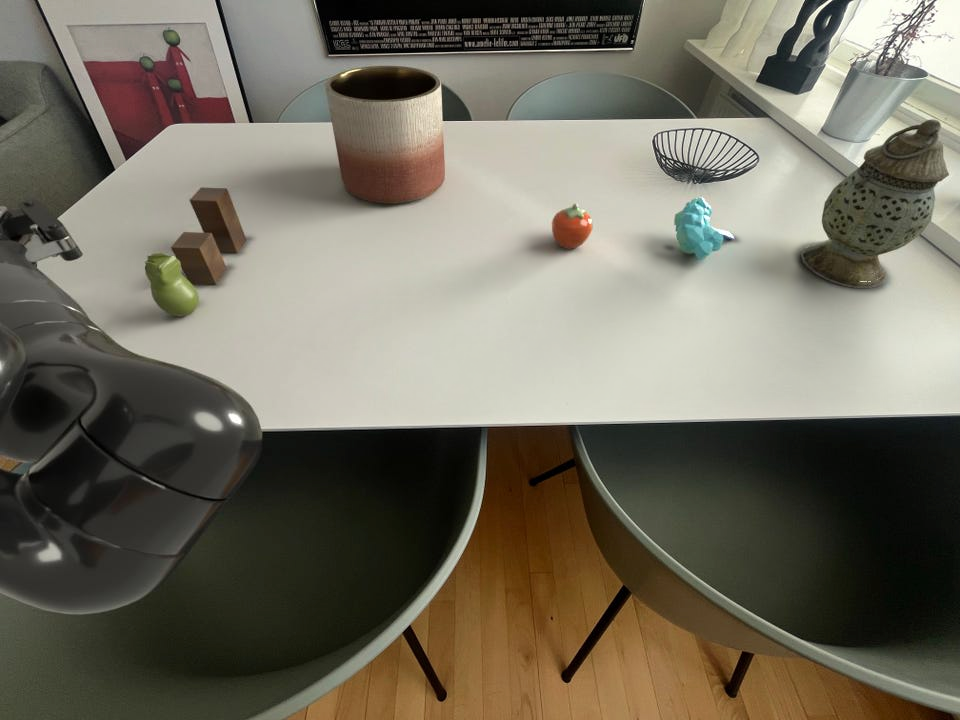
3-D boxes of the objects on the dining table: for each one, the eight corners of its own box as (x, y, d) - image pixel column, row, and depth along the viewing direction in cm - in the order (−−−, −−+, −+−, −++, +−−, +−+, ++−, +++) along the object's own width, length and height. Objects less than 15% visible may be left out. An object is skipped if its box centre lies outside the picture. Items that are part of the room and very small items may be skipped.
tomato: (594, 240, 91) (603, 201, 85) (578, 259, 86) (586, 219, 81) (559, 228, 93) (565, 189, 88) (542, 246, 89) (547, 206, 83)
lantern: (888, 298, 80) (1010, 147, 62) (796, 275, 84) (885, 127, 66) (880, 256, 89) (984, 113, 71) (796, 237, 93) (875, 97, 75)
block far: (237, 253, 85) (216, 201, 78) (212, 252, 85) (189, 200, 78) (246, 239, 89) (227, 188, 81) (222, 238, 89) (200, 187, 81)
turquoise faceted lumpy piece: (680, 237, 99) (648, 221, 89) (720, 209, 94) (692, 188, 83) (706, 281, 96) (676, 270, 85) (749, 254, 90) (723, 238, 79)
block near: (216, 284, 79) (199, 248, 74) (189, 283, 79) (170, 247, 74) (227, 268, 82) (211, 232, 77) (200, 267, 82) (183, 231, 77)
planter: (354, 160, 113) (337, 63, 98) (447, 162, 113) (445, 66, 99) (333, 207, 97) (310, 100, 83) (442, 209, 98) (438, 103, 83)
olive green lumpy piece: (180, 298, 76) (150, 243, 69) (211, 302, 76) (184, 247, 69) (158, 321, 73) (124, 265, 65) (190, 325, 72) (160, 270, 65)
